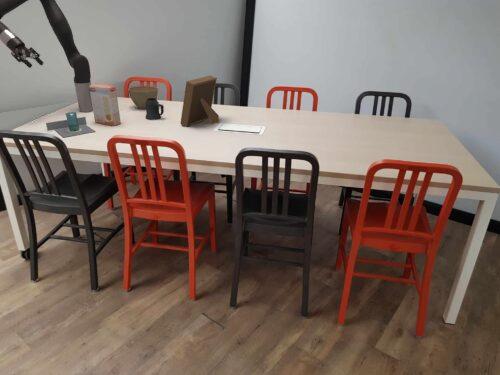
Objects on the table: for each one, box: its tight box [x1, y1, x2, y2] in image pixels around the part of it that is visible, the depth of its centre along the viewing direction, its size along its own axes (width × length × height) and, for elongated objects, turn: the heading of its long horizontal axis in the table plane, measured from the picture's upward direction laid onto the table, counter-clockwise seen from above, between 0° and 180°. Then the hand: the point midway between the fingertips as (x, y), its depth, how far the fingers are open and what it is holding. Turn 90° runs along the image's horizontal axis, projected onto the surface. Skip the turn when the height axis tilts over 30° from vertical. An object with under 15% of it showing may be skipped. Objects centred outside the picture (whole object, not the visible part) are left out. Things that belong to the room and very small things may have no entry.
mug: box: [145, 98, 165, 121], centre depth 219 cm, size 12×9×11 cm
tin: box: [65, 111, 79, 132], centre depth 195 cm, size 5×5×9 cm
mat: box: [53, 124, 96, 139], centre depth 197 cm, size 16×16×1 cm
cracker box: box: [89, 83, 122, 127], centre depth 206 cm, size 14×6×21 cm, turn 65°
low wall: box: [45, 116, 88, 131], centre depth 202 cm, size 20×1×4 cm, turn 130°
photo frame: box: [179, 75, 220, 128], centre depth 209 cm, size 15×22×25 cm
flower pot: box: [127, 85, 159, 110], centre depth 240 cm, size 18×18×12 cm
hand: (36, 65), depth 196 cm, fingers open, 8 cm apart
